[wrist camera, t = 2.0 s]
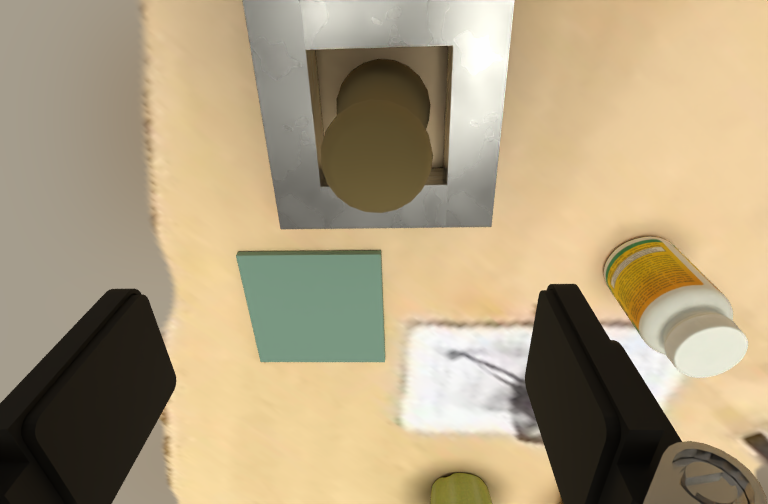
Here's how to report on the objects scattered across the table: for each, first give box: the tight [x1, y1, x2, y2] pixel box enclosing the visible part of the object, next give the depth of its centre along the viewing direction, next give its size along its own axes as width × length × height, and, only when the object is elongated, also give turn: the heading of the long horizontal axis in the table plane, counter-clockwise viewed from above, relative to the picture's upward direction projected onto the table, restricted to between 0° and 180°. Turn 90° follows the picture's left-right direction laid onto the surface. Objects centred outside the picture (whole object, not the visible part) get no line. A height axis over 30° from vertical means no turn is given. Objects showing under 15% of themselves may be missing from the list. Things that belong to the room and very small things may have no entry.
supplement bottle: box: [604, 237, 748, 378], centre depth 30 cm, size 5×5×10 cm
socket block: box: [243, 0, 515, 229], centre depth 28 cm, size 14×14×3 cm
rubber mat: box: [236, 250, 385, 362], centre depth 37 cm, size 11×11×1 cm
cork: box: [321, 59, 433, 213], centre depth 24 cm, size 6×6×11 cm
